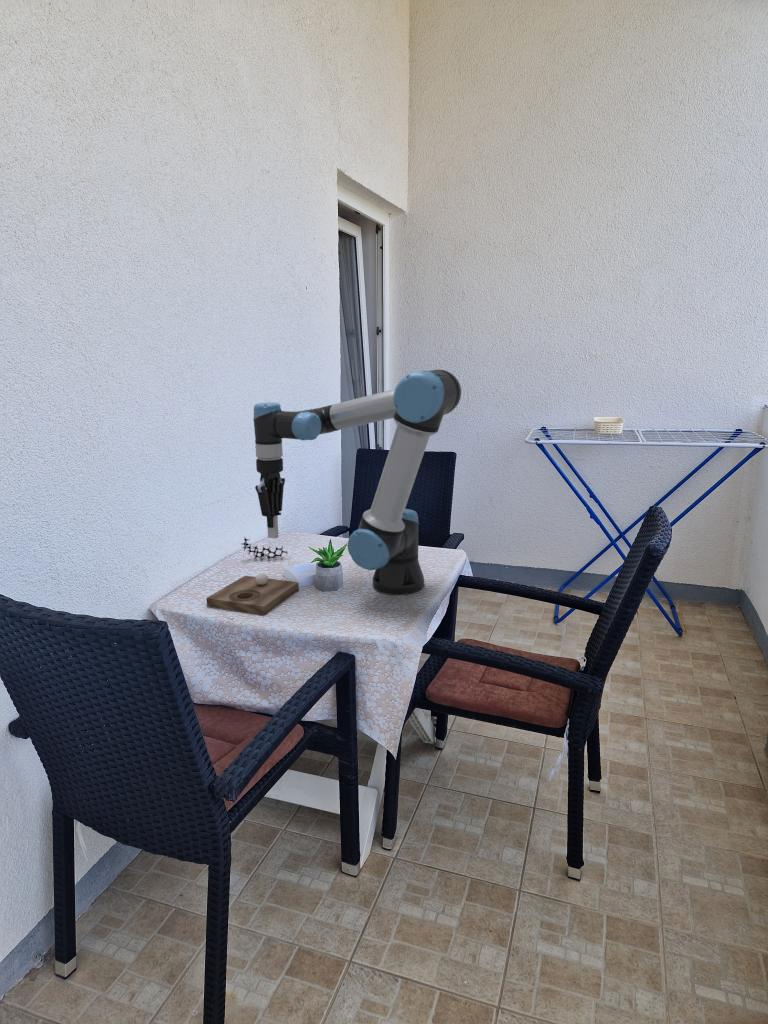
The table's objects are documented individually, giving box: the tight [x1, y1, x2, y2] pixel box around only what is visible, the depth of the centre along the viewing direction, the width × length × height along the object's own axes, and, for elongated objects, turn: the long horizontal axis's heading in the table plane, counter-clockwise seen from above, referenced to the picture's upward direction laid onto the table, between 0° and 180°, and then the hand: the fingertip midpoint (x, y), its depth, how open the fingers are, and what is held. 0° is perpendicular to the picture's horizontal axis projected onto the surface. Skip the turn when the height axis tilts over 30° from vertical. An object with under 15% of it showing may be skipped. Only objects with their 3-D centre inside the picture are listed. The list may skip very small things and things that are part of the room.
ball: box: [255, 572, 269, 585], centre depth 186 cm, size 4×4×4 cm
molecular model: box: [240, 536, 289, 562], centre depth 216 cm, size 6×15×8 cm, turn 97°
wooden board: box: [206, 575, 300, 616], centre depth 183 cm, size 18×19×2 cm
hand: (273, 537), depth 191 cm, fingers closed
